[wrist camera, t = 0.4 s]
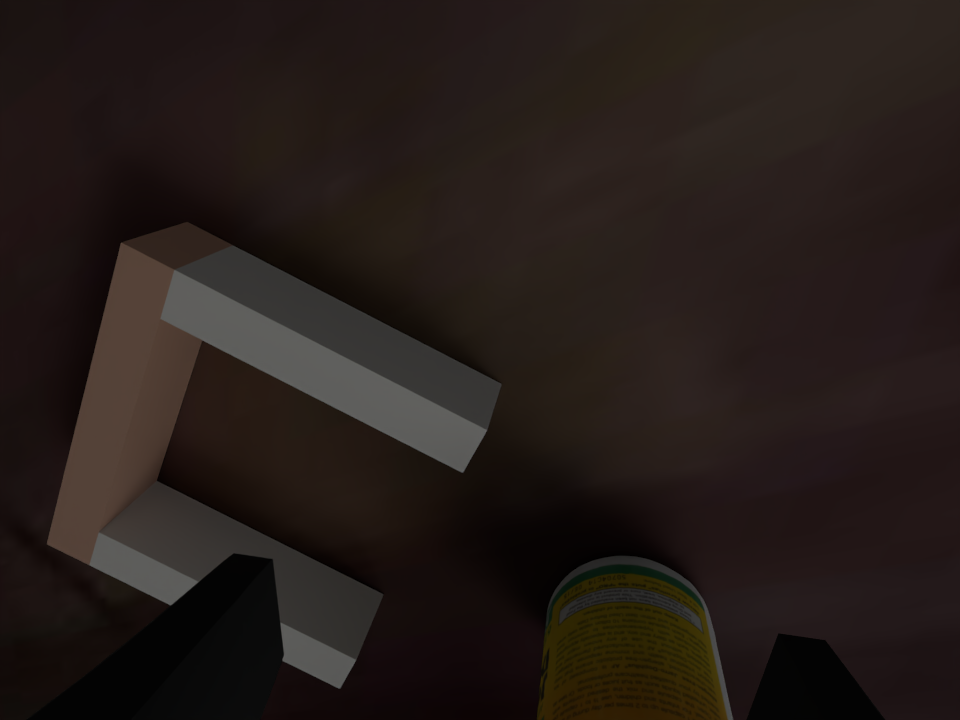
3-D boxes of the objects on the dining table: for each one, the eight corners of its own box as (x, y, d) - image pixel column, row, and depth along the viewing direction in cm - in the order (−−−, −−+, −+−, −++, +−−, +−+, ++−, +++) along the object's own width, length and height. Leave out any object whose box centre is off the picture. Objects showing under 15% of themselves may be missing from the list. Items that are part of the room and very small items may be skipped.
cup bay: (368, 621, 24) (339, 688, 22) (109, 492, 24) (46, 543, 21) (501, 383, 20) (487, 430, 17) (187, 221, 20) (120, 242, 17)
